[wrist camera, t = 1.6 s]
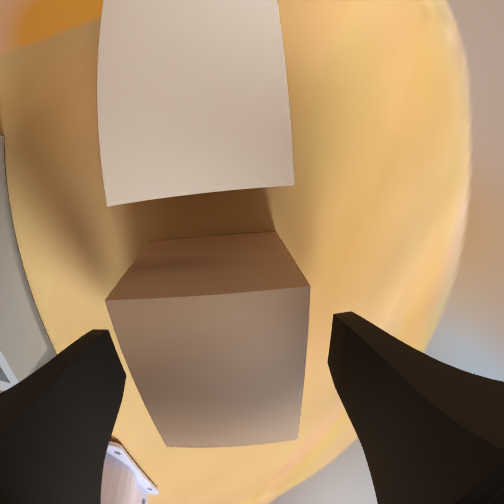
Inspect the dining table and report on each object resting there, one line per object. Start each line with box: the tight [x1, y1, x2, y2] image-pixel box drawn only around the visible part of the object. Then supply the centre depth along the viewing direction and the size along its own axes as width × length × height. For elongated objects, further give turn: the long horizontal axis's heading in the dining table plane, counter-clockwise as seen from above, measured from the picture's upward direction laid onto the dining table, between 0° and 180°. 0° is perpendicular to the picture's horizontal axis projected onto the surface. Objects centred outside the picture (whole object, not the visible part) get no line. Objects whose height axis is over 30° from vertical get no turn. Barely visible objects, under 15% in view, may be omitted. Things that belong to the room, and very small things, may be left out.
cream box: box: [97, 0, 295, 207], centre depth 6 cm, size 6×4×4 cm, turn 4°
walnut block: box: [105, 231, 310, 448], centre depth 9 cm, size 6×4×4 cm
